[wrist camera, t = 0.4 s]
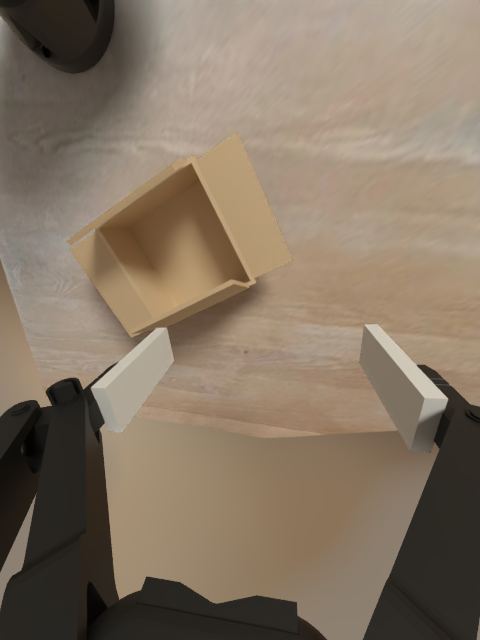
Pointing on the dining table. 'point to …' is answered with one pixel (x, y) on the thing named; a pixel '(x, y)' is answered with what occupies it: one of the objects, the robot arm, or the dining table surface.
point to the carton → (185, 237)
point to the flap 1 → (127, 200)
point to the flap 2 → (193, 306)
